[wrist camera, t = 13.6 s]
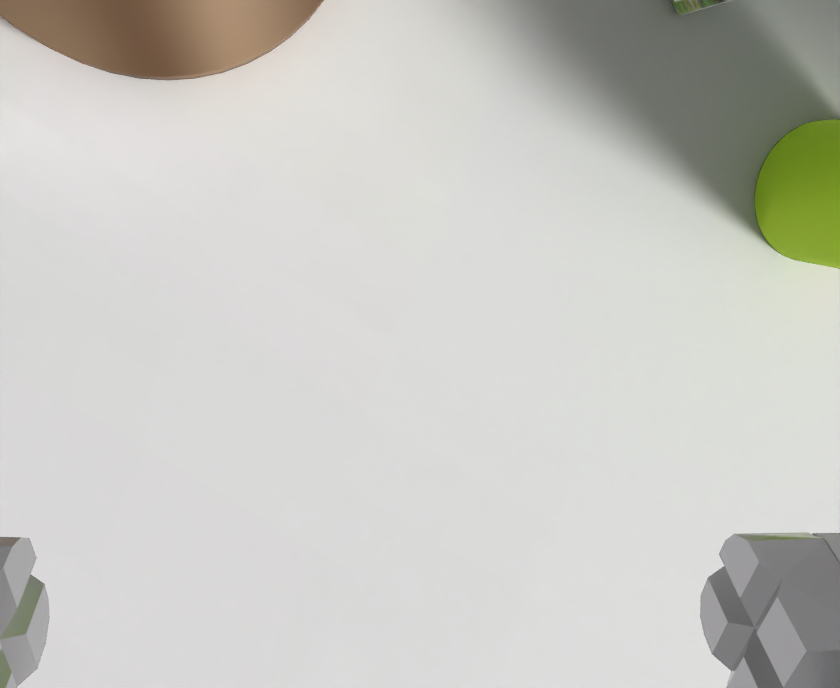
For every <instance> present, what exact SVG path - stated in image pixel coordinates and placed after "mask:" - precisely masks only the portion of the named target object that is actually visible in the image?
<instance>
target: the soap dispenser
mask: <svg viewBox="0 0 840 688" xmlns="http://www.w3.org/2000/svg"><path fill="white" fill-rule="evenodd" d="M755 211H756V217H757V221H758V224H759V227H760V229H761V232H762V234H763V235H764V237H765V239H766V240H767V241H768V243H769V244H770V245H771V246H772V247H773V248H774V249H775V250H776V251H778V252H779V253H781V254H782V255H784V256H786V257H788V258H791V259H794V260H798V261H803V262H808V263H813V264H819V265H824V266H829V267H834V268H839V269H840V119H836V120H820V121H814V122H810V123H806V124H804V125H801V126H799V127H797V128H796V129H794V130H792V131H791V132H789V133H788V134H787V135H785V136H784V137H783V138H782V139H781V140H780V141H779V142H778V143H777V144H776V145H775V146H774V148H773V149H772V150H771V152H770V153H769V155H768V156H767V158H766V160H765V162H764V164H763V166H762V168H761V171H760V173H759V176H758V180H757V184H756V190H755Z"/></svg>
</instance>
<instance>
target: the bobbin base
mask: <svg viewBox="0 0 840 688" xmlns="http://www.w3.org/2000/svg"><path fill="white" fill-rule="evenodd" d="M323 1H324V0H0V15H1V16H2V17H3V18H4V19H6V20H7V21H8V22H9V23H11V24H12V25H13V26H15V27H16V28H18V29H19V30H21V31H23V32H24V33H26V34H27V35H29V36H31V37H32V38H34V39H35V40H37V41H39V42H40V43H42V44H44V45H45V46H47V47H49V48H51V49H53V50H55V51H57V52H59V53H61V54H63V55H65V56H67V57H70V58H72V59H74V60H76V61H78V62H80V63H82V64H86V65H89V66H92V67H95V68H98V69H101V70H104V71H107V72H110V73H114V74H119V75H125V76H130V77H135V78H141V79H156V80H179V79H194V78H199V77H204V76H209V75H214V74H219V73H223V72H226V71H228V70H231V69H234V68H237V67H240V66H242V65H245V64H247V63H249V62H251V61H253V60H255V59H257V58H259V57H261V56H263V55H265V54H267V53H268V52H270V51H272V50H273V49H274V48H276V47H277V46H278V45H280V44H281V43H283V42H284V41H285V40H287V39H288V38H290V37H291V36H292V35H293V34H294V33H295V32H296V31H297V30H298V29H299V28H300V27H301V26H302V25H303V24H304V23H305V22H306V21H307V20H309V19H310V17H311V16H312V15H313V13H314V12H315V11H316V10H317V8H318V7H319V6H320V5H321V3H322V2H323Z"/></svg>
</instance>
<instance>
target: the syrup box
mask: <svg viewBox="0 0 840 688" xmlns="http://www.w3.org/2000/svg"><path fill="white" fill-rule="evenodd" d="M671 1H672V4H673V6H674V8H675V10H676V13H677V14H678V15H685V14H689V13H692V12H695V11H698V10H702V9H705V8H709V7H712V6H715V5H718V4H722V3H726V2H730V1H733V0H671Z"/></svg>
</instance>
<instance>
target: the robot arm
mask: <svg viewBox="0 0 840 688" xmlns="http://www.w3.org/2000/svg"><path fill="white" fill-rule="evenodd" d="M719 555H720V557H721V560H722V562H723V564H724V567H722V568H721V569H719V570H718V571H717V572H715V573H714V574H712V575H711V576H709V577H708V579H707V581H706V584H705V586H704V589H703V591H702V594H701V607H700V618H701V622H702V627H703V632H704V635H705V638H706V640H707V643H708V645H709V648H710V650H711V653H712V654H713V655H714V656H715V657H716V658H717V659H718V660H719V661H721V662H722V663H723V664H724V665H725V666H726V667H728V668H729V669H730V670H731V673H730V677H729V680H728V684H727V688H840V533H813V534H810V533H752V534H734V535H732V536H731V537H729V538H728V539H726V540H725V542H724V544H723V546H722V548H721V551H720V553H719ZM35 561H36V555H35V552H34V549H33V547H32V544H31V541H30V538H21V537H0V688H17V686H18V685H20V684H21V683H22V682H23V681H24V680H25V679H26V678H27V677H28V676H29V675H31V674H32V673H33V672H34V671H35V670H36V669H37V668H38V665H39V662H40V659H41V656H42V653H43V650H44V647H45V644H46V637H47V630H48V624H49V600H48V595H47V591H46V588H45V584H44V583H42V582H41V581H39V580H38V579H37V578H35V577H34V576H32V575H31V571H32V569H33V566H34V564H35Z"/></svg>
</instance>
